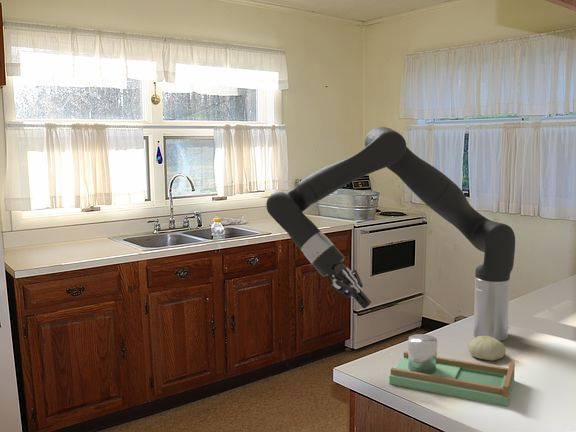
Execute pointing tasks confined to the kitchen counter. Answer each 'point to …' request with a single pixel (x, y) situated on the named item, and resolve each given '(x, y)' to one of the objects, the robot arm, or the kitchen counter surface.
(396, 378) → the green railed board
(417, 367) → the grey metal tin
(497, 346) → the sea urchin shell
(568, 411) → the kitchen counter surface
